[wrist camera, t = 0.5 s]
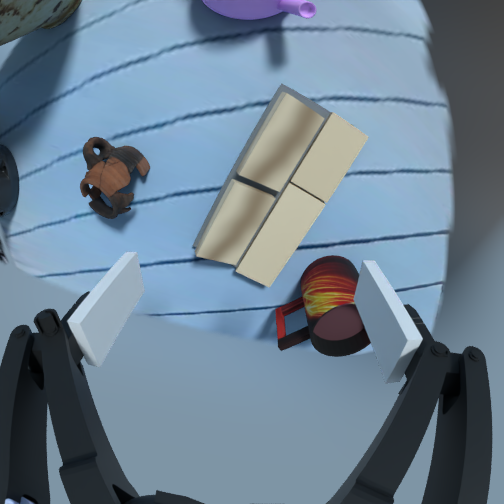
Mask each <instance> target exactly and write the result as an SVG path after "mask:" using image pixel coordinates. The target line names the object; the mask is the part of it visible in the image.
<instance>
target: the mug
mask: <svg viewBox="0 0 504 504" xmlns="http://www.w3.org/2000/svg"><path fill="white" fill-rule="evenodd" d="M358 279H359V273H358V272H357V270H356V268H355V266H354V265H353V264H352V263H351V262H350V261H349V260H348V259H346V258H344V257H341V256H334V255H332V256H325V257H322V258H319V259H317V260H315V261H314V262H313V263H311V264H310V265H309V266H308V267H307V268H306V270H305V271H304V273H303V275H302V277H301V282H300V283H301V291H302V297H300V298H298V299H296V300H294V301H292V302H290V303H288V304H286V305H284V306H282V307H280V308H277V309H276V324H277V335H278V347H279V349H280V350H281V351H282V350H284V349H287V348H290V347H292V346H294V345H296V344H299V343H301V342H303V341H306V340H308V339H310V338H311V342H312V345H313V346H314V348H315V349H316V350H317V351H318V352H320V353H322V354H324V355H328V356H335V357H338V356H347V355H350V354H354V353H356V352H358V351H360V350H362V349H364V348H365V347H367V346H368V345H369V344H370V343H371V342H370V339H369V337H368V334H367V332H366V329H365V326H364V324H363V321H362V319H361V316H360V314H359V312H358V309H357V307H356V304H355V302H354V296H355V292H356V288H357V283H358ZM303 307H305V312H306V317H307V322H308V326H307V327H305V328H302V329H300V330H298V331H296V332H294V333H291V334H289V335H287V336H286V331H285V320H284V316H286V315H288V314H290V313H292V312H295V311H297V310H299V309H301V308H303Z"/></svg>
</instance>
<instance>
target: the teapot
mask: <svg viewBox="0 0 504 504" xmlns="http://www.w3.org/2000/svg"><path fill="white" fill-rule="evenodd" d="M202 1H203V2H204V4H205V5H206V6H208V7H209V8H210V9H211V10H213V11H215V12H217V13H219V14H221V15H224V16H226V17H230V18H235V19H244V20H254V19H262V18H267V17H270V16H273V15H276V14H278V13H280V12H282V11H284V12H288V13H291V14H294V15H298V16H301V17H304V18H311V17H313V16H314V15H315V14H316V6H315V5H314V4H313V3H311V2H308V1H304V0H202Z"/></svg>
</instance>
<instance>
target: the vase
mask: <svg viewBox="0 0 504 504" xmlns="http://www.w3.org/2000/svg"><path fill="white" fill-rule="evenodd" d="M80 2H81V0H0V46H1V45H3V44H6V43H8V42H11V41H13V40H15V39H17V38H20V37H22V36H24V35H26V34H28V33H30V32H32V31H35V30H37V29H39V28H44V29H50V28H54V27H56V26H58V25H60V24H61V23H63V22H64V21H66V20H67V19H68V18H69V16H70V15H71V14H72V13H73V12H74V11H75V10H76V8H77V7H78V5H79V4H80Z"/></svg>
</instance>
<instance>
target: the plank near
mask: <svg viewBox="0 0 504 504" xmlns="http://www.w3.org/2000/svg"><path fill="white" fill-rule="evenodd" d="M324 119H325V118H323V117H322V116H320V115H319V114H318V113H316V112H315V111H313V110H312V109H310V108H309V107H308V106H306V105H305V104H303V103H302V102H300V101H299V100H297V99H296V98H294V97H293V96H291V95H289V94H288V93H285V92H282V93H281V94H280V96H279V98H278V99H277V101H276V103H275V104H274V106H273V108H272V109H271V111H270V113H269V114H268V116H267V118H266V119H265V121H264V123H263V125H262V126H261V128H260V130H259V131H258V133H257V135H256V137H255V138H254V140H253V142H252V144H251V145H250V147H249V149H248V151H247V152H246V154H245V156H244V158H243V160H242V161H241V163H240V165H239V167H238V169H237V170H236V172H237V173H238V174H239V175H240V176H243V177H245V178H248V179H250V180H253V181H255V182H257V183H260V184H262V185H264V186H267V187H269V188H271V189H274V190H276V191H278V192H280V191H281V189H282V188H283V186H284V184H285V183H286V181H287V180H288V178H289V176H290V175H291V173H292V171H293V170H294V168H295V166H296V165H297V163H298V161H299V160H300V158H301V157H302V155H303V153H304V152H305V150H306V148H307V147H308V145H309V143H310V142H311V140H312V139H313V137H314V135H315V134H316V132H317V130H318V129H319V127H320V126H321V124H322V122H323V121H324Z"/></svg>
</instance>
